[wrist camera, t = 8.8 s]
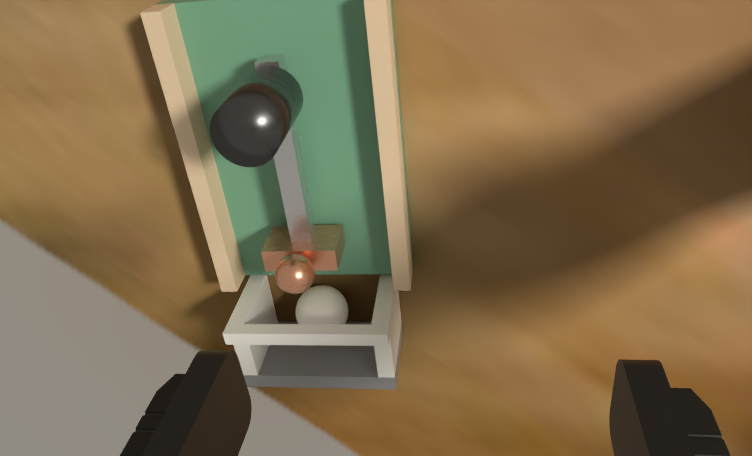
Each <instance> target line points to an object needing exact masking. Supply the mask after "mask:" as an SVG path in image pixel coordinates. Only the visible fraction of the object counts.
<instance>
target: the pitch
mask: <svg viewBox="0 0 752 456" xmlns="http://www.w3.org/2000/svg"><path fill="white" fill-rule="evenodd" d="M140 14H141V18H142V21H143V25H144V28H145V32H146V35H147V38H148V42H149V45H150V49H151V52H152V55H153V59H154V62H155V66H156V69H157V72H158V76H159V79H160V83H161V86H162V89H163V93H164V96H165V100H166V103H167V107H168V110H169V113H170V117H171V120H172V124H173V127H174V130H175V134H176V137H177V141H178V144H179V147H180V151H181V154H182V158H183V161H184V165H185V168H186V171H187V175H188V178H189V182H190V185H191V188H192V192H193V195H194V199H195V202H196V205H197V209H198V212H199V216H200V219H201V222H202V226H203V229H204V233H205V236H206V240H207V243H208V246H209V250H210V253H211V257H212V260H213V263H214V267H215V270H216V274H217V277H218V280H219V284H220V287H221V291H222V292H237V291H238V289H239V287H240V285H241V283H242V281H243V279H244V277H245V275H274V271H265V267H264V262H263V258H262V254H261V251H262V249H263V246H264V244H265V242H266V240H267V238H268V236H269V234H270V232H271V230H272V228H273V226H288V225H287V220H286V215H285V210H284V205H283V200H282V195H281V190H280V186H279V181H278V176H277V171H276V166H275V161H274V157H273V158H272V159H271V160H270V161H269V162H268V163H266V164H264V165H261V166H258V167H242V166H238V165H236V164H233V163H232V162H230V161H228V160H227V159H225V158H224V157H223V156H222V155H221V154H220V153H219V152H218V151H217V149H216V148H215V146H214V144H213V142H212V140H211V137H210V122H211V119H212V116H213V115H214V113H215V112H216V110H217V109H218V108H219V107H220V106H221V105H222V104H223V103H224V102H225V100H226V99H227V98H228V97H229V96H230V95H231V94H232V93H233V91H234V90H235V89H236V88H237V87H238V86H239V85H240V84H241V83H242V81H243V80H244V79H245V78H246V77H247V76H248V75H249V74H250V73H251V72H252V71H253V70H255V64H254V63H255V62H256V61H257V60H258V58H259V57H260V56H264V55H279V54H284V56H285V62H286V67H287V72H289V73H290V74H291V75H292V76H293V77H294V78H295V79H296V80H297V82H298V83H299V85H300V87H301V90H302V93H303V106H302V109H301V111H300V113H299V115H298V116H297V118H296V124H297V129H298V135H299V141H300V146H301V152H302V157H303V163H304V169H305V174H306V180H307V186H308V191H309V197H310V202H311V208H312V214H313V219H314V225H340V224H343V230H344V236H345V243H346V244H345V247H344V251H343V254H342V258H341V262H340V265H339V269H338V270H333V271H315V275H330V274H392V279H393V289H394V291H411V282H412V273H413V256H412V244H411V231H410V218H409V206H408V193H407V181H406V168H405V156H404V143H403V131H402V118H401V105H400V93H399V80H398V68H397V55H396V43H395V30H394V17H393V5H392V0H168V1H161V2H159V3H157V4H155V5H153V6H152V7H150V8H148V9H146V10H144V11H142V12H141V13H140Z"/></svg>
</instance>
